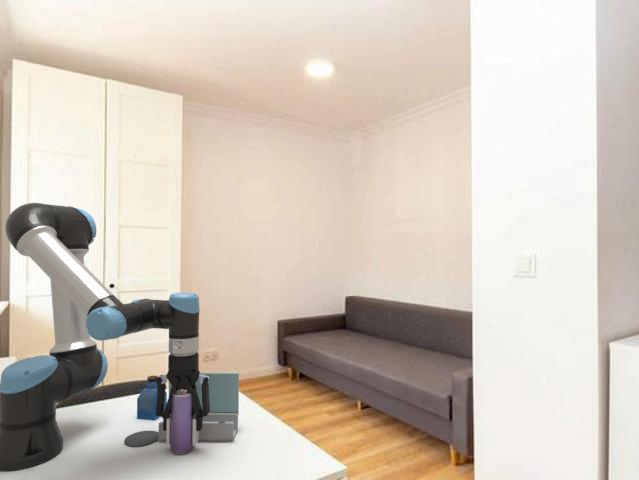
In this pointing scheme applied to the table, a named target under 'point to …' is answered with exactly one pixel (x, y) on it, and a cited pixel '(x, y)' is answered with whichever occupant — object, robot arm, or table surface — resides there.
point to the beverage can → (181, 423)
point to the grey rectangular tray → (213, 428)
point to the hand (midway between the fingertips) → (182, 442)
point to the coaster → (141, 438)
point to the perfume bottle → (149, 401)
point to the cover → (221, 392)
